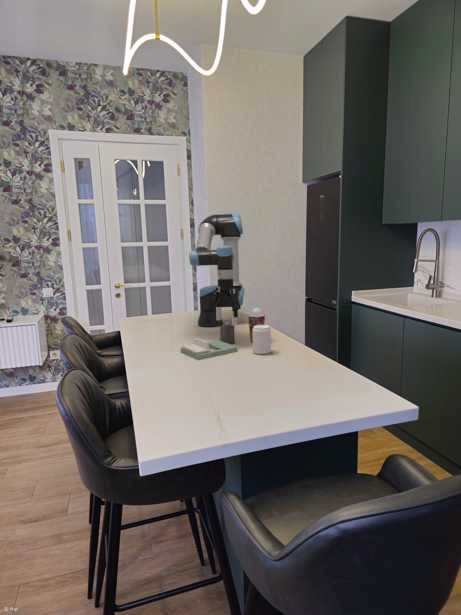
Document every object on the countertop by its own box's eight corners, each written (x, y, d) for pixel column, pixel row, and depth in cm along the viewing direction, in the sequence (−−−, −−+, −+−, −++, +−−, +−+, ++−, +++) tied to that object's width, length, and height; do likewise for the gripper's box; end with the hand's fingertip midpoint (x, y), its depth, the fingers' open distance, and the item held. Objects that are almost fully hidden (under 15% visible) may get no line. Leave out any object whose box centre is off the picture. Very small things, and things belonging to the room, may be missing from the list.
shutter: (195, 345, 188) (195, 337, 187) (210, 351, 177) (210, 342, 177) (182, 347, 184) (182, 339, 183) (196, 354, 173) (196, 345, 173)
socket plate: (218, 344, 197) (218, 340, 197) (237, 351, 184) (237, 346, 184) (180, 352, 185) (180, 347, 185) (198, 360, 172) (197, 355, 172)
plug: (228, 341, 201) (228, 320, 199) (234, 343, 197) (234, 321, 195) (220, 343, 198) (219, 321, 196) (226, 345, 194) (225, 323, 192)
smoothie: (265, 339, 203) (265, 300, 199) (265, 343, 195) (264, 303, 191) (249, 339, 204) (248, 300, 200) (248, 344, 196) (247, 303, 192)
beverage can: (269, 355, 176) (269, 328, 174) (251, 354, 178) (251, 328, 176) (271, 350, 184) (271, 324, 182) (254, 349, 185) (253, 324, 183)
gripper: (205, 277, 200) (206, 319, 203) (234, 280, 180) (235, 326, 183) (217, 276, 204) (219, 317, 208) (247, 279, 184) (248, 324, 187)
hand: (226, 321), depth 195 cm, fingers open, 13 cm apart
